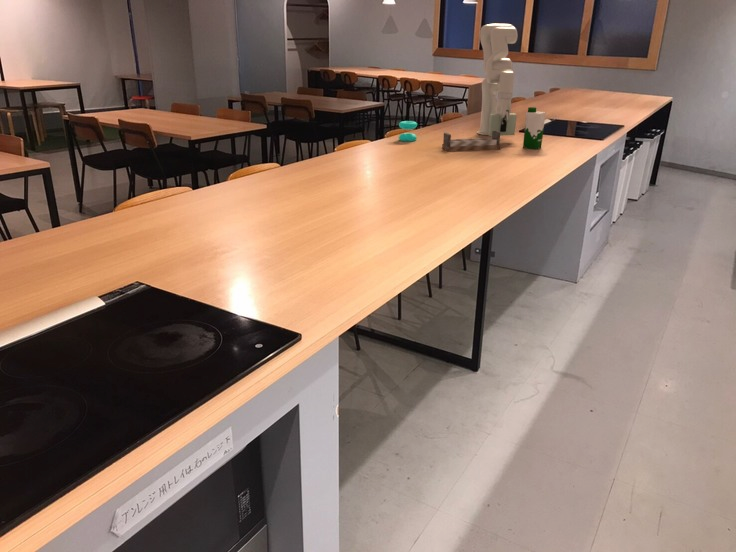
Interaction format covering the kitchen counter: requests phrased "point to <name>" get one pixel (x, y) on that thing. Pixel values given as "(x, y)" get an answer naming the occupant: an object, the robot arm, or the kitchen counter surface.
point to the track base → (471, 143)
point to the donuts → (407, 135)
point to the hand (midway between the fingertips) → (501, 130)
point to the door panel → (496, 123)
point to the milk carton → (533, 128)
